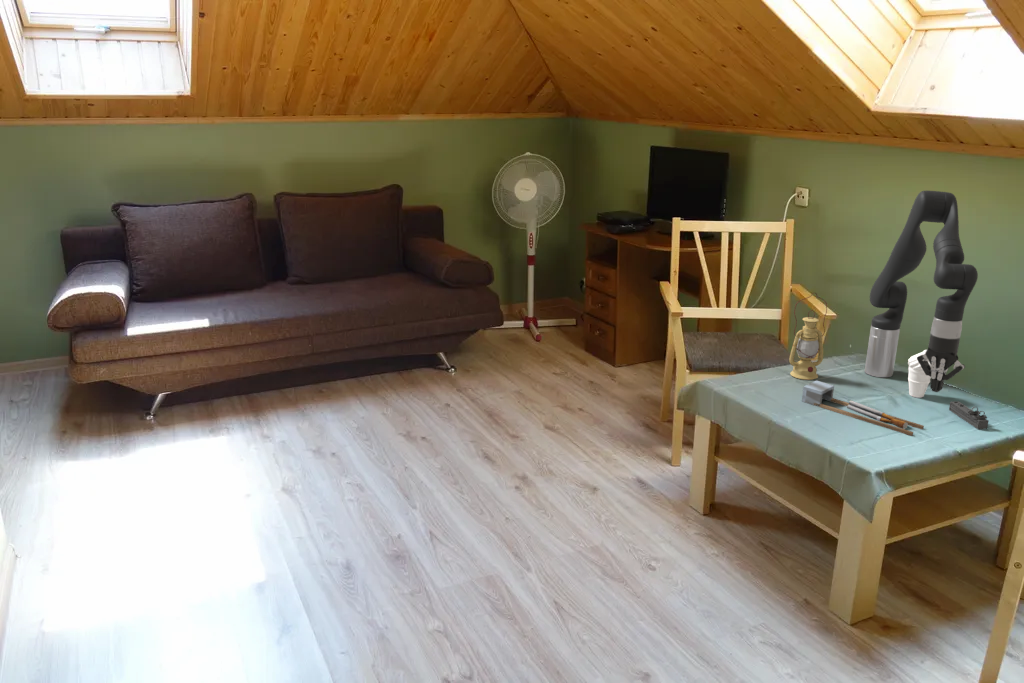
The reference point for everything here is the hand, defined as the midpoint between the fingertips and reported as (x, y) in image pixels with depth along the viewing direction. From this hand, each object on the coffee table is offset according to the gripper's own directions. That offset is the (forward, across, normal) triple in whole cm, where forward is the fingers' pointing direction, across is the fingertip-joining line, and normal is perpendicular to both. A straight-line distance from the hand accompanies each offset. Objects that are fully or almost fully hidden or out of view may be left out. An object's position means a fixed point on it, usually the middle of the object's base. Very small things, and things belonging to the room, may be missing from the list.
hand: (935, 391), depth 235 cm
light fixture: (+14, -3, -21) cm, 26 cm away
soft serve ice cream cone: (+14, +16, -29) cm, 36 cm away
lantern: (+14, +50, -18) cm, 55 cm away
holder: (+14, +21, 0) cm, 25 cm away
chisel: (+14, +16, -1) cm, 22 cm away
